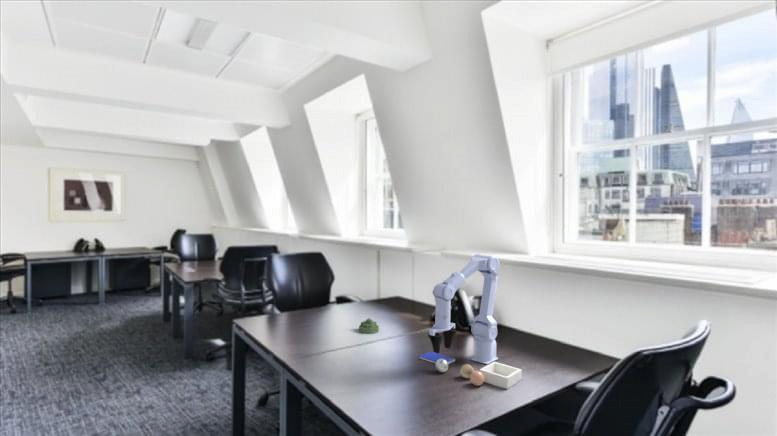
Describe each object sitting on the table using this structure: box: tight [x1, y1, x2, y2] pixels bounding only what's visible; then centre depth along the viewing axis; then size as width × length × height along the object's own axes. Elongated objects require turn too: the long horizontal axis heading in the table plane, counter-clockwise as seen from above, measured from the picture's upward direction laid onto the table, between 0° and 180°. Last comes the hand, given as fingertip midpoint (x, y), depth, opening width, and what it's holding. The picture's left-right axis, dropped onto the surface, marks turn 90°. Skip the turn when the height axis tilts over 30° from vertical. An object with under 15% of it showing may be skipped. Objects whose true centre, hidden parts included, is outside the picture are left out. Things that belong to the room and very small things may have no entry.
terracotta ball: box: [469, 370, 485, 387], centre depth 148 cm, size 5×5×5 cm
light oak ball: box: [459, 363, 475, 379], centre depth 154 cm, size 5×5×5 cm
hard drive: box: [419, 351, 456, 365], centre depth 173 cm, size 2×8×12 cm
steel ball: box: [434, 359, 449, 373], centre depth 160 cm, size 5×5×5 cm
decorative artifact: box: [358, 317, 380, 335], centre depth 211 cm, size 10×7×10 cm
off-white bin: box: [478, 361, 523, 390], centre depth 153 cm, size 11×11×4 cm
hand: (442, 350), depth 160 cm, fingers open, 7 cm apart
